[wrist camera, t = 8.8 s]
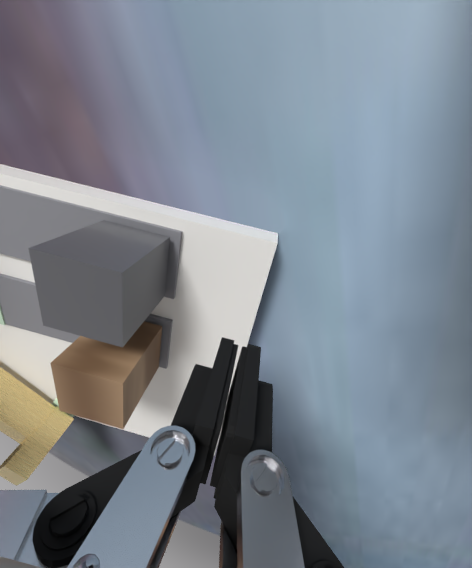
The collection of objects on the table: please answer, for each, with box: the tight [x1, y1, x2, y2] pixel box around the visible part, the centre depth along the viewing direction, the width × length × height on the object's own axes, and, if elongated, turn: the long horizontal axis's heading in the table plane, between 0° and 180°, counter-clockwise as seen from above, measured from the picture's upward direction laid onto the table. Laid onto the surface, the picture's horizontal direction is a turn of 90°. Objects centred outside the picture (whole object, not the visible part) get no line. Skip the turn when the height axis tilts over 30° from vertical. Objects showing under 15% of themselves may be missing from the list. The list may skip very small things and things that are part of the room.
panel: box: [0, 164, 278, 455], centre depth 21 cm, size 27×22×2 cm
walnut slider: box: [50, 321, 162, 429], centre depth 17 cm, size 4×4×5 cm
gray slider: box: [28, 220, 170, 347], centre depth 13 cm, size 4×4×5 cm
